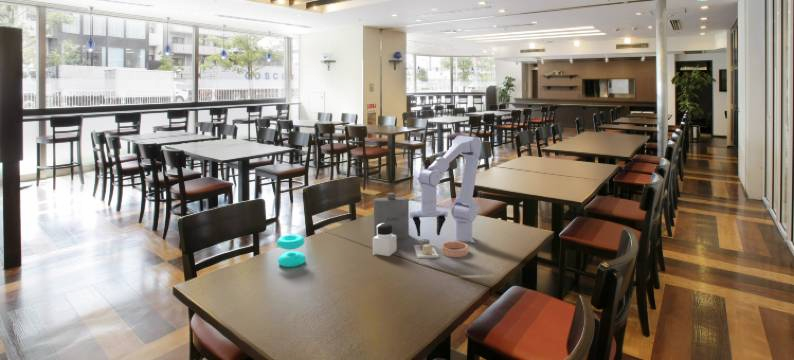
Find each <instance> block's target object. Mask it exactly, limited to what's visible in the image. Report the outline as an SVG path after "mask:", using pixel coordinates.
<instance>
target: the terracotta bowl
mask: <svg viewBox="0 0 794 360" xmlns="http://www.w3.org/2000/svg"><path fill="white" fill-rule="evenodd" d="M440 246H441V248H440V251H441V253H442V255H444V256H446V257H451V258H462V257H465V256H467V255H468V253H469V245H468V244H467V243H465V242H463V241H457V240H456V241H455V240H454V241H453V240H452V241H445V242H443V243H442V244H441V245H440Z"/></svg>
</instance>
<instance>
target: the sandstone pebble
mask: <svg viewBox="0 0 794 360" xmlns="http://www.w3.org/2000/svg"><path fill="white" fill-rule="evenodd" d="M422 255H432V244H425V245H423V246H422Z"/></svg>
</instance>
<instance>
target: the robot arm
mask: <svg viewBox="0 0 794 360" xmlns="http://www.w3.org/2000/svg"><path fill="white" fill-rule="evenodd" d="M482 144H483V143H482V141H481V139H480V138H479V137H478V136H466V135H461V134H460V135H457V136H456V137H455V138H454V139H453V140H452V145H451V146H450V147H449V149H448V150H447V151H446V152H445V154H444V155H443V156H439V157H436V158H435V160H434V161H433V162H432V163H431V164H430V165H429V166H428V167H427V168H426V169H425V168H424V169H422V171H420V173H419V175H418V179H417V180H418V183H419V187H420V188H421V205H420V207H421V210H416V211H409V218H410V219H412V221H413V223H414V225H415V229H416V233H417V237H421V222H422V221H421V218H434V217H435V218H436V235H437V236H440V234H441V230H442V227H443V225H444V223H445V222H446V220H447V219H446V218H447V217H449V212H448V210H437V185H439V184H440V181H441V178H442V177H443V175H444V174H445V172H446V171H447V170H448V169H449V168H450V163H451V162H452V161H453V160H455V159H456V157H458V156H459V155H461V156H463V157H464V159H465V162H464V167H463V174H462V180H461V185H460V186H461V187H460V193H459V196H458V197H456V198H455V199H454V201H453V205H452V206H451V209H450V213H451V216H452V217H453V220H454V223H453V224H454V226H453V231H454V232H453V235H454V239H455V240H456V241H457V242H463V243H465V242H466V243H467V242H470V243H471V244H475V243H476V242H475V240H474V239H473V238H474V237H473V222H474V221H475V219H476V218H477V217H478V204H477V202H476V201H475V200H474V199H473V195H474V191H475V184H476V179H477V174H478V165H479V159H480V157H481V152H482V146H483V145H482Z"/></svg>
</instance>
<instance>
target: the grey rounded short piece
mask: <svg viewBox="0 0 794 360" xmlns="http://www.w3.org/2000/svg"><path fill="white" fill-rule="evenodd" d="M425 244H430V240H429V239H426V238H423V239H420V244H419V245H420V250H422V246H423V245H425ZM430 245H431V244H430Z"/></svg>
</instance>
